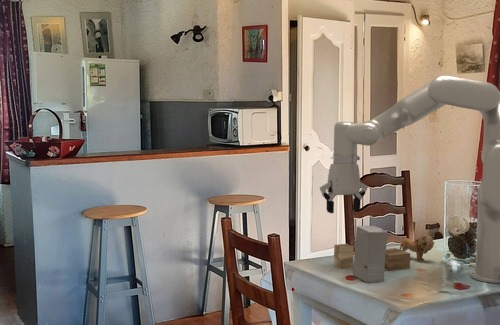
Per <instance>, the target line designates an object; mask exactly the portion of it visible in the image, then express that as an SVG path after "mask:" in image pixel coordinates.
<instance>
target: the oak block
mask: <svg viewBox="0 0 500 325" xmlns="http://www.w3.org/2000/svg"><path fill="white" fill-rule="evenodd" d="M333 252H334V253H333V266H334V267H336V268H338V269H341V270H343V269H351V268H353V267H354V245H353V246H352V245H349V244H348V243H340V244H334V245H333Z"/></svg>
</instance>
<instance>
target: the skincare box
mask: <svg viewBox="0 0 500 325" xmlns="http://www.w3.org/2000/svg"><path fill="white" fill-rule="evenodd" d="M355 235H356V236H355V244H354V245H355V246H354V254H353V270H352V276H354V277H355V278H357V279H359V280H361V281H363V282H364V283H376V282H384V279H385V270H386V269H385V256H386V249H387V245H388V244H387V243H388V231H386V230H384V229H383V228H381V227H378V226H375V225H358V226H356V234H355Z"/></svg>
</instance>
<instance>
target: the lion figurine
mask: <svg viewBox="0 0 500 325" xmlns="http://www.w3.org/2000/svg"><path fill="white" fill-rule="evenodd" d="M434 245H435V241H434V238H432V237H431V235H425V236H423V237H421V238H418V239H416V240H414V241H413V240H412V239H410V238H407V237H405V238H403V239H402V241H401V243H400V247H399V249H400V250H403V251H405V252H407V251H408V250H409V251H411V252H413V253H416V262H417V263H421V262H423V261H425V259H424V258H423V256H424V254H428V252H430V251H431V250H432V249H433V248H434Z"/></svg>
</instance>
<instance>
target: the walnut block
mask: <svg viewBox="0 0 500 325" xmlns="http://www.w3.org/2000/svg"><path fill="white" fill-rule="evenodd" d="M410 268H411V253H410V252H407V251H403V250H402V249H401V250H400V248H397V247H393V248H386V256H385V269H384V270H385V271H386V270H387V271H388V272H389V271H399V270H408V269H410Z"/></svg>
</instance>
